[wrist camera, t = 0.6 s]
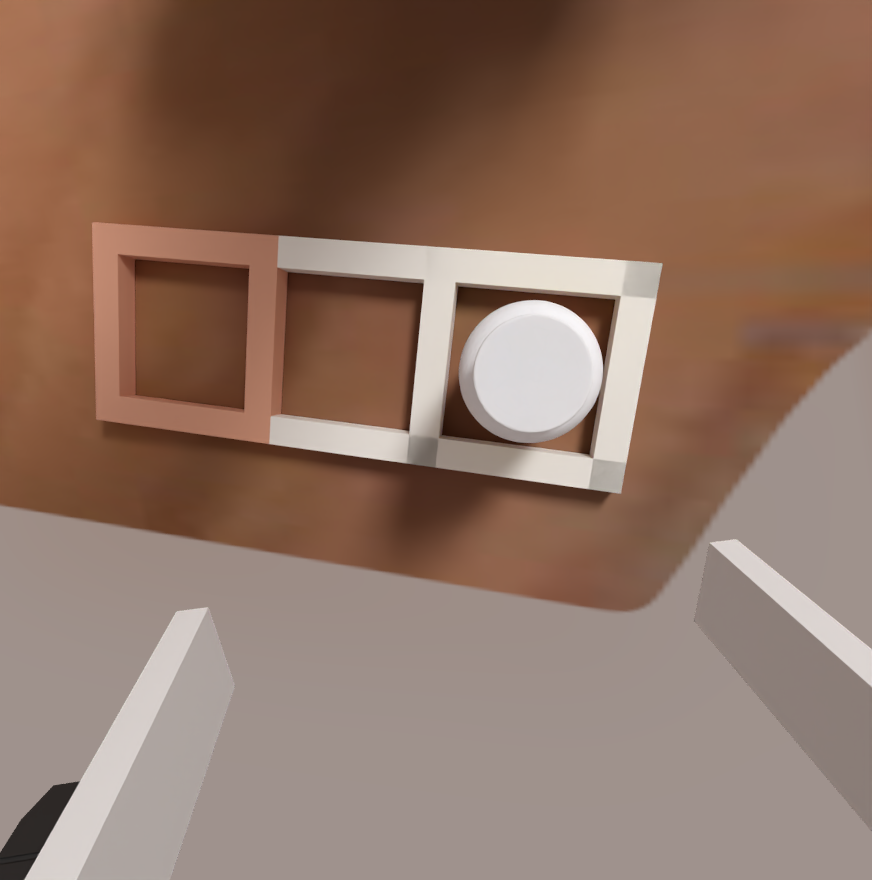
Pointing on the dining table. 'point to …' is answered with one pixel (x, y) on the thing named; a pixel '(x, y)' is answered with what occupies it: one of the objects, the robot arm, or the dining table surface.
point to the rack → (441, 280)
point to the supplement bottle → (530, 371)
